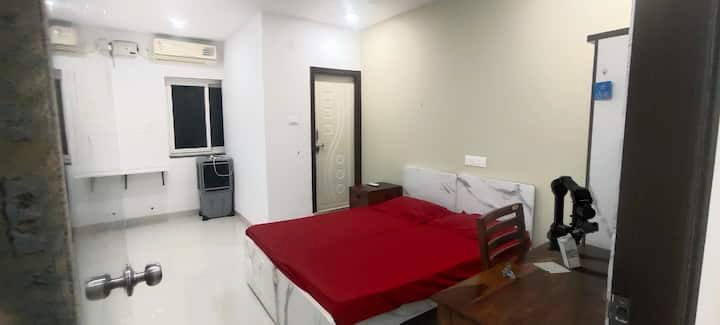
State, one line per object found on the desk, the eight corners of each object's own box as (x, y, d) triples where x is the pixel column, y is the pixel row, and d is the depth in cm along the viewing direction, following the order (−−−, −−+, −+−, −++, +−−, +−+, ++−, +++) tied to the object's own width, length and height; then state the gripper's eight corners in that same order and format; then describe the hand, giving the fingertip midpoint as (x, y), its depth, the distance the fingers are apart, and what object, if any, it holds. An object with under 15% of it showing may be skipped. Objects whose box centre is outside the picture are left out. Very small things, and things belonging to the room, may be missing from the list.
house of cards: (488, 276, 164) (489, 260, 163) (503, 273, 167) (504, 257, 166) (501, 284, 156) (502, 267, 155) (517, 281, 158) (518, 265, 157)
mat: (533, 264, 177) (533, 263, 177) (553, 262, 179) (553, 261, 179) (550, 274, 166) (550, 273, 165) (571, 272, 168) (571, 271, 167)
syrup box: (576, 261, 176) (568, 234, 175) (582, 266, 170) (574, 238, 169) (564, 264, 177) (556, 237, 176) (569, 269, 171) (562, 241, 170)
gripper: (575, 219, 161) (573, 252, 163) (609, 217, 165) (607, 249, 166) (557, 213, 172) (555, 244, 174) (590, 211, 175) (588, 242, 177)
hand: (576, 245), depth 172 cm, fingers closed
